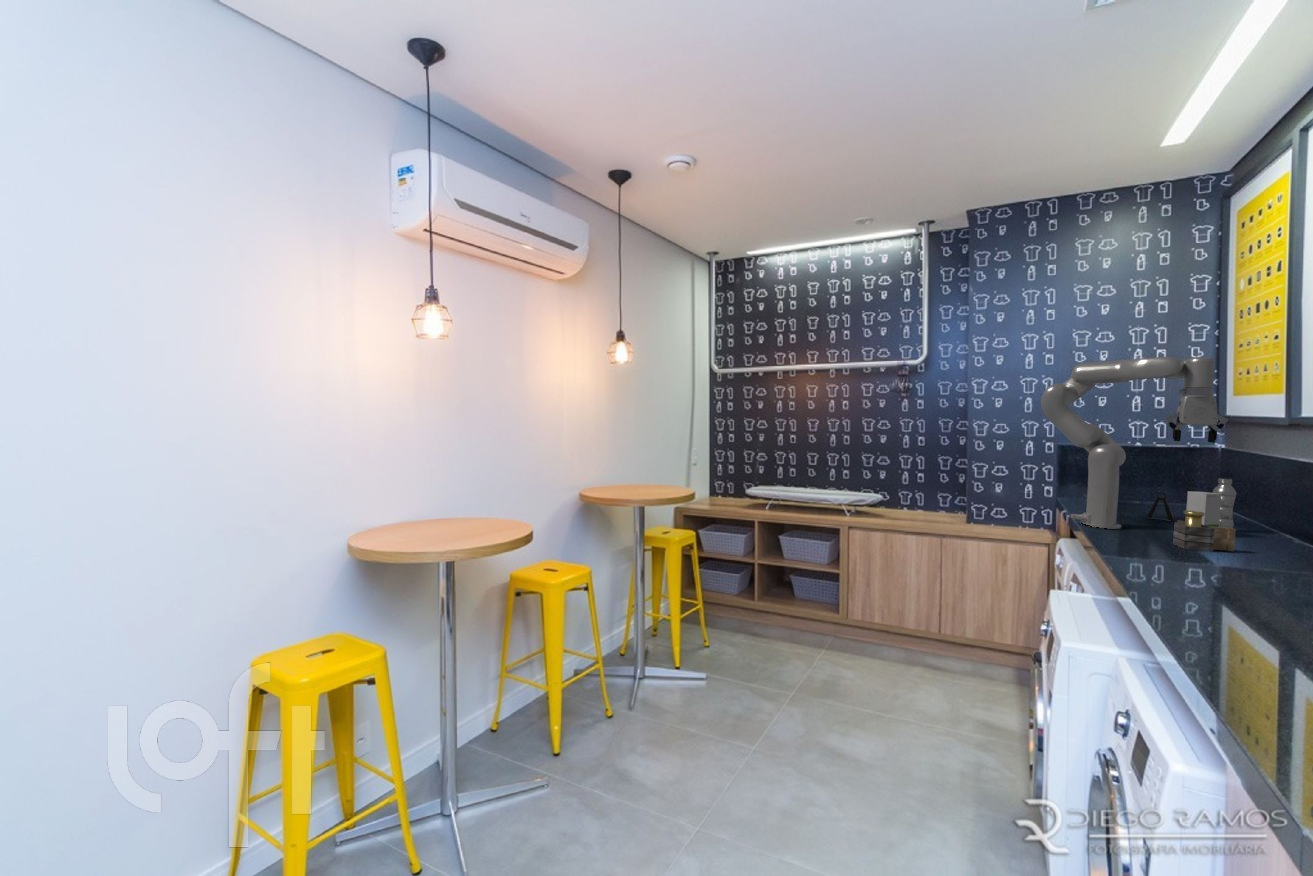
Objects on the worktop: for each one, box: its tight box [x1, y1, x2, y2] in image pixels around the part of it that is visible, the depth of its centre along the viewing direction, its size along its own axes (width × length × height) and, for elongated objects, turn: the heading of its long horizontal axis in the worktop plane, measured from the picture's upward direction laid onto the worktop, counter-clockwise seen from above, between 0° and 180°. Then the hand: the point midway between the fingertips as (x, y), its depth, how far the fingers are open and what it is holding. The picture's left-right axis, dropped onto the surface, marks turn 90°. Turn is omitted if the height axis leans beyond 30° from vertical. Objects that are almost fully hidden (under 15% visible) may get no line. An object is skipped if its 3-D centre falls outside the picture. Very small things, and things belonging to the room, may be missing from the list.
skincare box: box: [1186, 490, 1221, 527], centre depth 218 cm, size 8×7×16 cm
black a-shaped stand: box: [1145, 490, 1175, 522], centre depth 248 cm, size 9×6×12 cm, turn 48°
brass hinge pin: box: [1183, 509, 1204, 542], centre depth 195 cm, size 5×5×12 cm
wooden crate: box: [1173, 526, 1237, 552], centre depth 193 cm, size 14×8×7 cm, turn 70°
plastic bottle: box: [1212, 477, 1237, 529], centre depth 225 cm, size 6×7×20 cm
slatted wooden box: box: [1172, 519, 1215, 553], centre depth 197 cm, size 8×14×8 cm, turn 160°
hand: (1194, 441), depth 208 cm, fingers open, 9 cm apart
